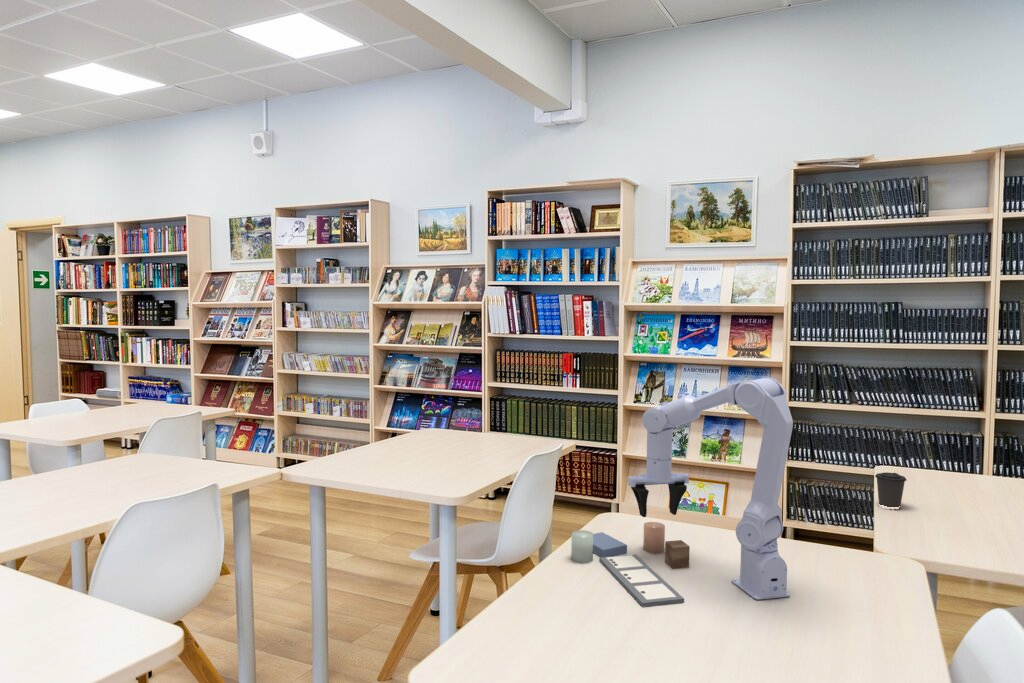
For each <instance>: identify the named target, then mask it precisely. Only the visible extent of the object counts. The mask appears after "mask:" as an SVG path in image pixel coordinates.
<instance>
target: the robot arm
mask: <svg viewBox="0 0 1024 683" xmlns="http://www.w3.org/2000/svg"><path fill="white" fill-rule="evenodd" d="M787 394H788V393H787V391H786V389H785V388H784V387H783V386H782V384H781V383H780V382H779V381H778V379H777V380H776V378H773V377H770V376H766V377H765V376H764V377H762V378H757V379H753V380H749V379H748V380H744V381H741V382H736V383H730V384H726V385H723V386H722V387H719V388H717V389H714V390H712V391H710V392H707V393H705V394H702V395H700V396H697V397H695V396H694V395H690V394H687V395H686V394H685V393H684V394H683V393H682V394H680V395H677V398H676V399H674V400H672V401H669V402H668V401H663V402H661V404H660V405H661V406H656V407H655V406H652V407H649V408H648V409H646V410H645V411H644V413H643V414H642V425H643V427H644V428H645V429H646V471H645V474H639V475H633V476H628V478H627V481H628V482H627V483H628V484H627V485H628V486H630V488H631V490H632V493H633V494H634V495H633V496H635V500H636V502H637V505H638V511H639V512H638V513H639V515H640V516H641V517H642V518H646V517H647V511H648V510H647V509H648V508H647V504H648V496H649V492H650V491H649V490H648V489H647V487H646V486H656V485H667V486H668V492H669V493H668V494H669V503H668V504H669V505H668V506H669V508H668V509H669V513H670V514H671V515H672V516H675V515H677V513H678V510H679V506H680V503H681V500H682V498H683V496H684V494H685V493H686V492H687V489H688V486H687V485H686V484H690V476H689V475H688V474H687V473H674V472H673V473H672V461H673V457H672V456H673V455H672V454H673V445H672V444H673V435H674V429H675V428H676V427H678V426H682V425H684V424H688V423H690V422H693V421H696V420H698V419H699V418H700V417H701V415H702V412H703V411H706V410H710V409H712V408H715V407H718V406H721V405H724V404H728V403H729V404H730V405H732V406H738V407H740V408H741V409H742V410H743V411H745V413H747V414H749V415H750V416H751V417H753V418H754V419H756V420H757V422H758V423H759V424H760V425H761V427H762V428H763V432H762V437H761V441H760V442H761V443H760V448H759V454H758V459H757V464H756V470H755V475H754V481H753V487H752V491H751V496H750V500H749V503H748V504H747V506H746V507H745V509H744V510H743V513H742V518H741V519H740V521H739V522H738V523H737V524H736V526H735V536H736V538H737V541H738V543H740V570H739V571H740V572H739V577H738V578H732V579H731V582H732V583H733V584H735V586H737V587H738V588H740V589H741V590H742V591H744V593H746V594H748V595H749V596H750V597H752V599H754V600H757V601H758V600H759V601H760V600H766V599H767V600H769V599H776V598H778V599H779V598H787V597H791V593H790V592H789V591H787V589H788V588H787V583H788V582H787V581H788V566H787V563H786V562H785V560H784V559H783V558H782V557H781V556H780V553H779V550H778V549H779V548H778V547H779V546H778V538H780V537H781V536H782V534H783V531H784V524H783V521H782V512H783V509H782V508H781V507H780V505H779V500H780V495H781V489H782V484H783V479H784V475H785V474H784V473H785V469H786V464H787V463H786V462H787V459H788V453H789V449H790V443H791V437H792V433H793V428H794V427H793V426H794V420H793V417H792V413H791V410H790V407H789V404H788V400H787Z"/></svg>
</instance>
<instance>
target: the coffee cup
mask: <svg viewBox="0 0 1024 683" xmlns="http://www.w3.org/2000/svg"><path fill="white" fill-rule="evenodd" d="M875 478H876V485H877V498H878V505H879V504H880V505H884V506H887V507H899V506H900V507H901V505H902V499H903V493H904V488H905V482H907V478H906V476H903V475H900V474H899V473H896V472H879V473H876V474H875Z"/></svg>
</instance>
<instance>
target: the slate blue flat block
mask: <svg viewBox="0 0 1024 683" xmlns="http://www.w3.org/2000/svg"><path fill="white" fill-rule="evenodd" d="M593 555H595V556H598V558H600V557H612V556H623V555H628V544H626V543H624V542H622V541H620V540H618V539H616V538H614V537H613V536H611V535H609V534H607V533H604V532H596V533H593Z"/></svg>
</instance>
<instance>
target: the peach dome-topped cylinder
mask: <svg viewBox="0 0 1024 683" xmlns="http://www.w3.org/2000/svg"><path fill="white" fill-rule="evenodd" d="M665 533H666V526H665V524H663V523H661V522H657V521H649V522H648V521H647V522H644V523H643V542H642V543H643V545H642V546H643V551H645V552H647V553H649V554H663V553H665V538H666V537H665Z"/></svg>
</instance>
